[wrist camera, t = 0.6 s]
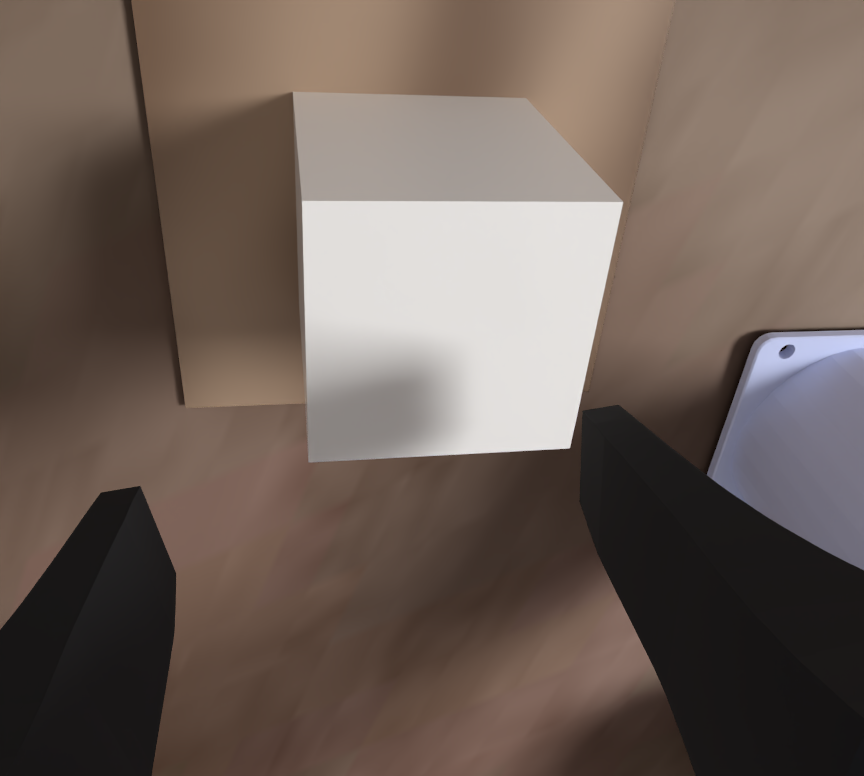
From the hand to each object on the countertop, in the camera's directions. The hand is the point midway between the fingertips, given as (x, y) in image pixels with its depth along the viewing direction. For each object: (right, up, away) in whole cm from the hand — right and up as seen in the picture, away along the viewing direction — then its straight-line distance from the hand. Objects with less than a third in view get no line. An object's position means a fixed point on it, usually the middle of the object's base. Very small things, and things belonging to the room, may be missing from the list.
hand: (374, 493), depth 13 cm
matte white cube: (0, +6, +7) cm, 9 cm away
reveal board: (0, +6, +7) cm, 10 cm away
